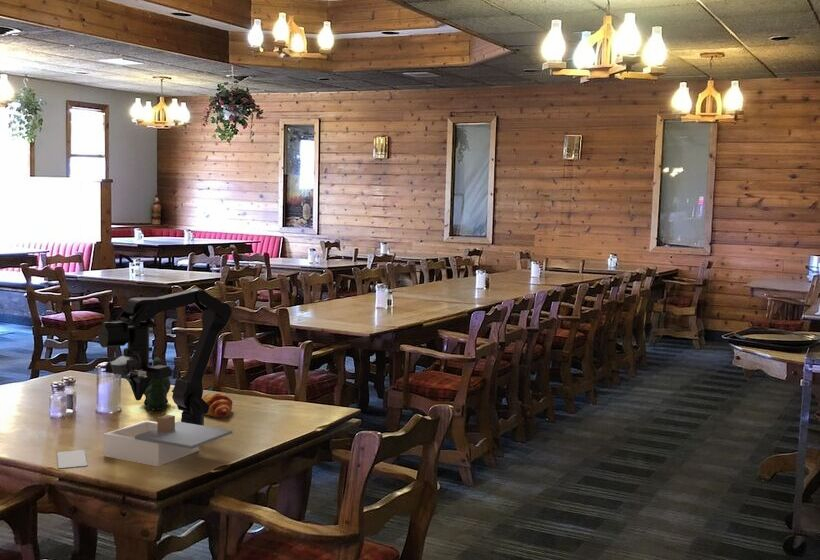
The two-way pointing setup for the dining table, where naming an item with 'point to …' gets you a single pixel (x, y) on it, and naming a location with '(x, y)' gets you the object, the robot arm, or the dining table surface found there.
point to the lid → (182, 433)
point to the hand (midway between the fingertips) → (138, 400)
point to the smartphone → (71, 459)
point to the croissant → (218, 405)
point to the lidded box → (141, 446)
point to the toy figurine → (157, 391)
